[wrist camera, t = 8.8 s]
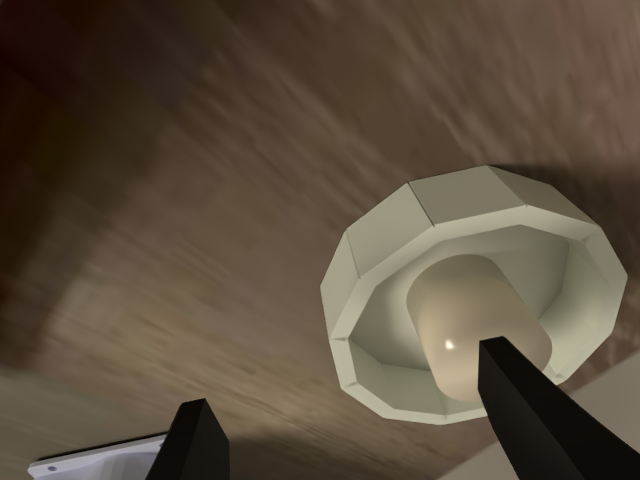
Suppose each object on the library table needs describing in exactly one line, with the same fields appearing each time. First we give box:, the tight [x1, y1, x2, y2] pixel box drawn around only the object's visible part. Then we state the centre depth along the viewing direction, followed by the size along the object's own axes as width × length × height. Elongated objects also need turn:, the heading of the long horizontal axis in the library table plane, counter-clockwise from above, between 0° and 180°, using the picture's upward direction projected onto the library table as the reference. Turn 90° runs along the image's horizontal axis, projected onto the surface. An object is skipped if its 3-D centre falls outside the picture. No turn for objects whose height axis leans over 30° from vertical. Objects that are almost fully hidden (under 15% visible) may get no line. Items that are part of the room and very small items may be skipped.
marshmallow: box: [406, 254, 552, 402], centre depth 20 cm, size 5×5×4 cm
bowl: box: [320, 165, 628, 425], centre depth 21 cm, size 13×13×4 cm
